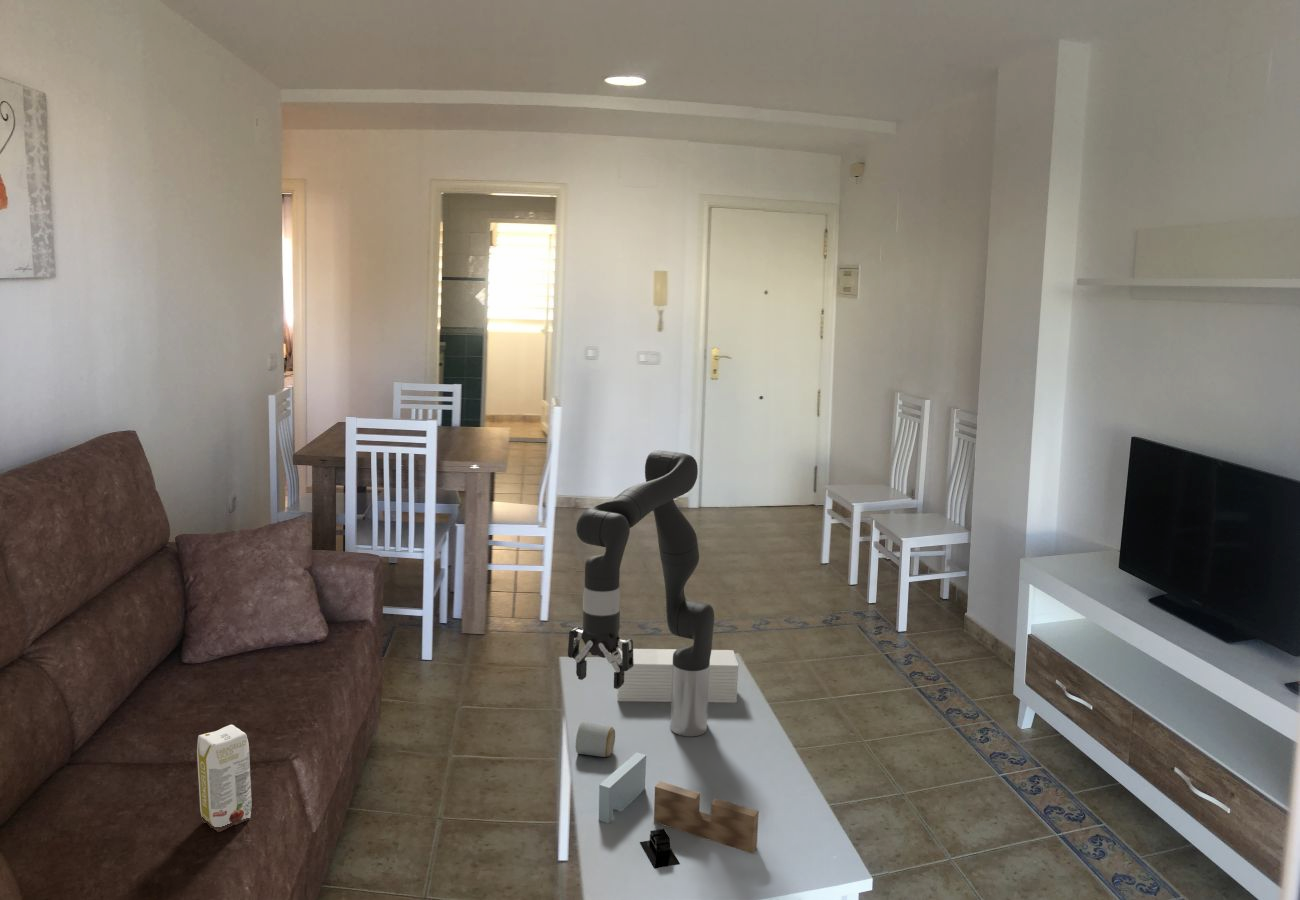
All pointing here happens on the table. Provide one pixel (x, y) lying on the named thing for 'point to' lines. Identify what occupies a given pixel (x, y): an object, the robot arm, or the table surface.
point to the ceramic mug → (595, 739)
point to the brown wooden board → (706, 817)
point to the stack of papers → (655, 676)
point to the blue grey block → (622, 787)
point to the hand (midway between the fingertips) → (599, 682)
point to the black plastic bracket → (659, 849)
